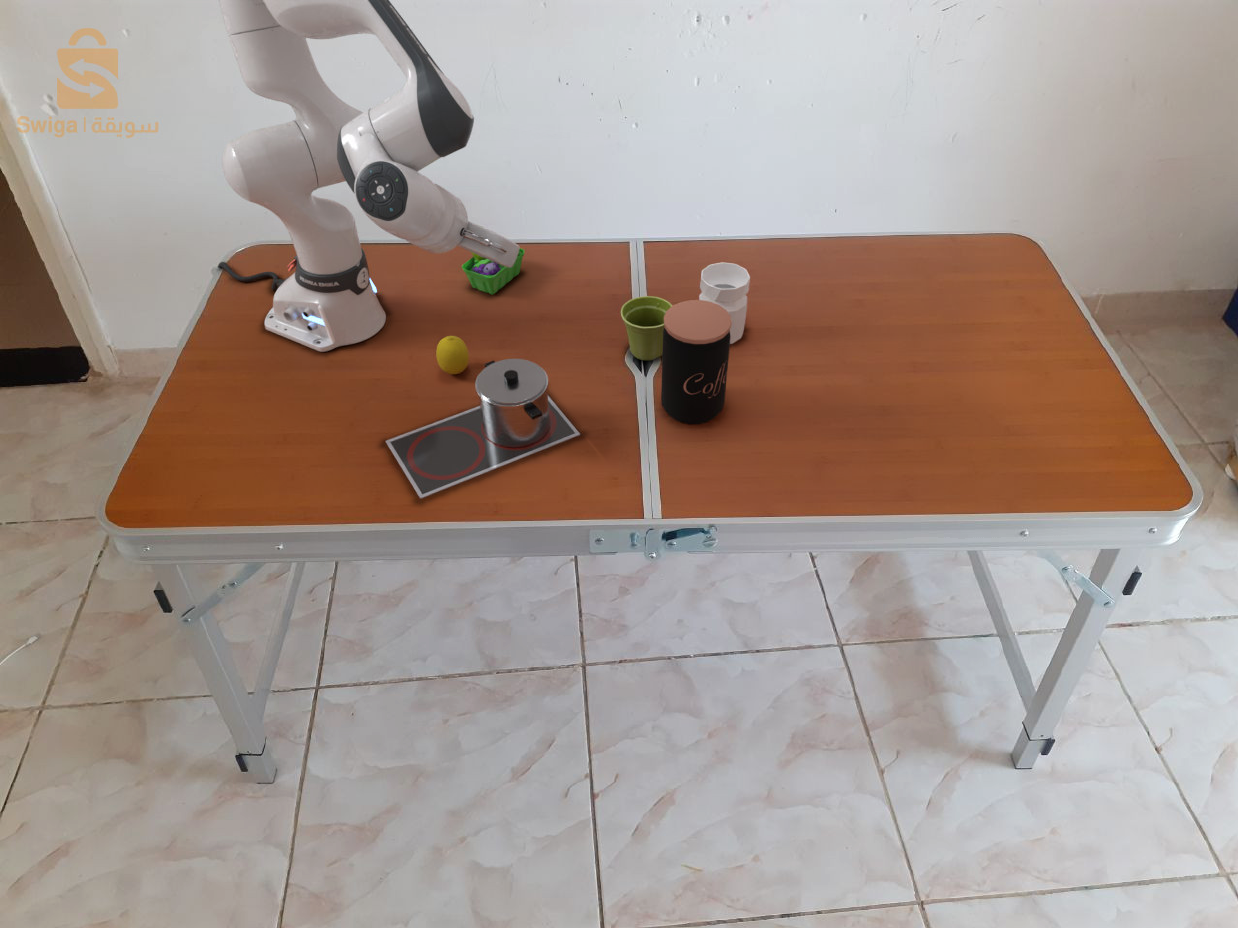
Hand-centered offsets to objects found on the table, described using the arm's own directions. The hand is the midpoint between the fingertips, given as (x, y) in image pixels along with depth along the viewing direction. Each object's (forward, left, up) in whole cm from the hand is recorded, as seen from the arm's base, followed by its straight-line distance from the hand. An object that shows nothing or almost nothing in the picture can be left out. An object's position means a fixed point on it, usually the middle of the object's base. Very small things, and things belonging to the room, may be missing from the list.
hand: (472, 241), depth 148 cm
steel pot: (+9, -10, -27) cm, 30 cm away
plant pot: (+23, +17, -28) cm, 40 cm away
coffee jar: (+35, +5, -28) cm, 45 cm away
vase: (+34, +27, -28) cm, 52 cm away
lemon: (-7, 0, -28) cm, 29 cm away
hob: (+5, -14, -28) cm, 32 cm away
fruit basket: (-13, +29, -28) cm, 42 cm away
